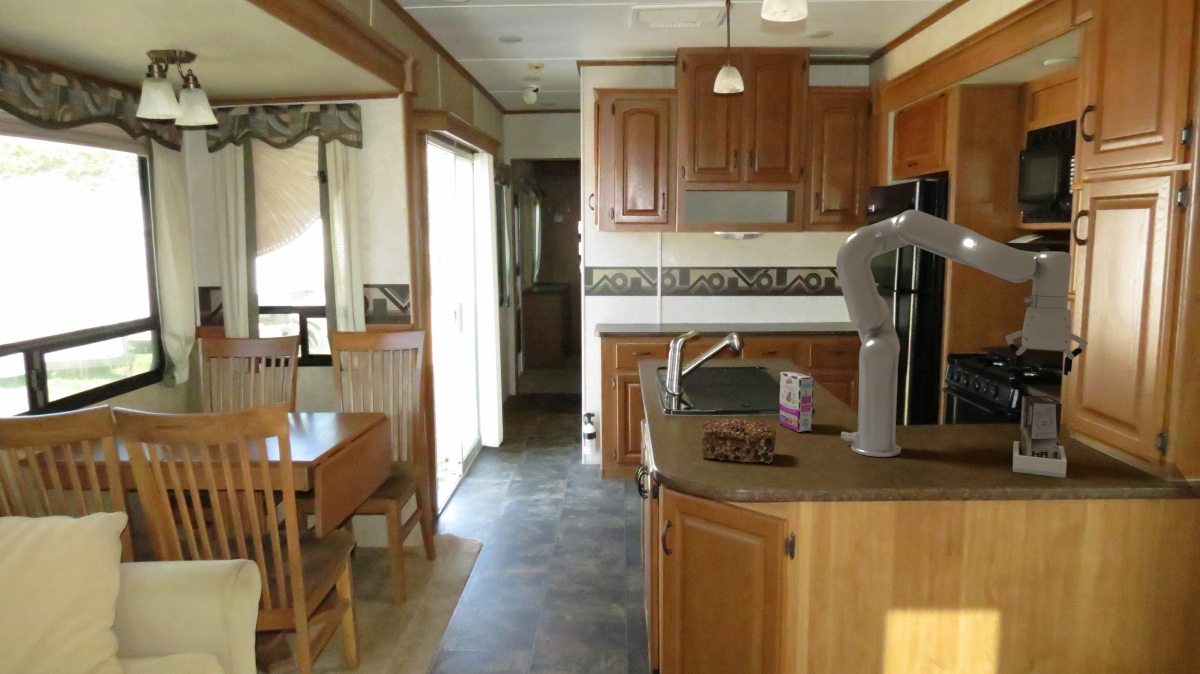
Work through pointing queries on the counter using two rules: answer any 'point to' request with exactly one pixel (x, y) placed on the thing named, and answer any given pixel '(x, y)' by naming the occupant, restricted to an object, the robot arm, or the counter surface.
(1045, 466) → the holder
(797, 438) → the counter surface
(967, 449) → the counter surface
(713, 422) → the bread
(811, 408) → the candy bar box
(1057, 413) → the coffee box
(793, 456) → the counter surface
